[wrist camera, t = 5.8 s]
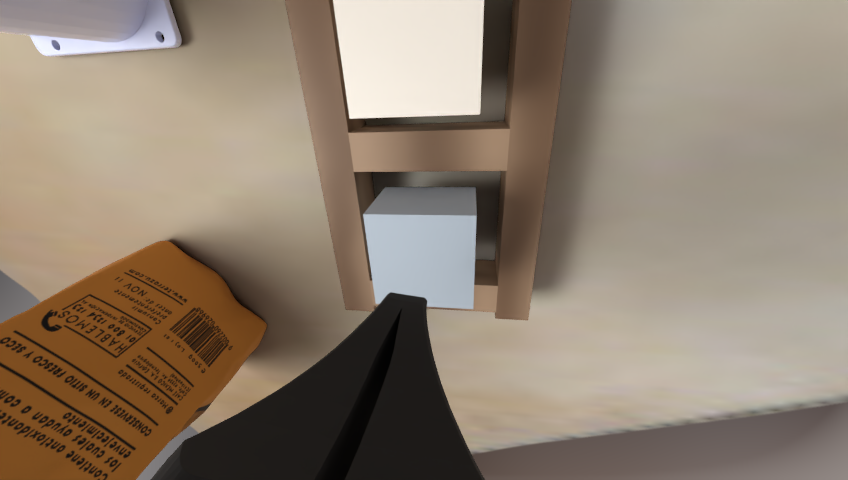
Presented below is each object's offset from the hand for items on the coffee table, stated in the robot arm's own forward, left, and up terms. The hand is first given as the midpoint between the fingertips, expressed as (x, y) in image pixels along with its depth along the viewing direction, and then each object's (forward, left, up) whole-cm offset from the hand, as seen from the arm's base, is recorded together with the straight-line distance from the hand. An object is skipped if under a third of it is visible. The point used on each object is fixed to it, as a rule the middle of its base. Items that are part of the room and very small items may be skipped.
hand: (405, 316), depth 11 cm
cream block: (0, +9, -8) cm, 12 cm away
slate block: (0, 0, -8) cm, 8 cm away
